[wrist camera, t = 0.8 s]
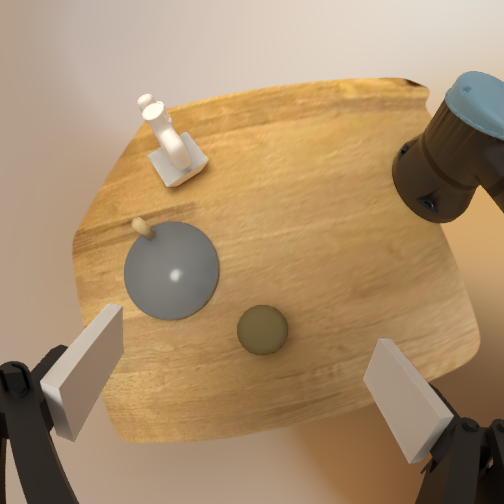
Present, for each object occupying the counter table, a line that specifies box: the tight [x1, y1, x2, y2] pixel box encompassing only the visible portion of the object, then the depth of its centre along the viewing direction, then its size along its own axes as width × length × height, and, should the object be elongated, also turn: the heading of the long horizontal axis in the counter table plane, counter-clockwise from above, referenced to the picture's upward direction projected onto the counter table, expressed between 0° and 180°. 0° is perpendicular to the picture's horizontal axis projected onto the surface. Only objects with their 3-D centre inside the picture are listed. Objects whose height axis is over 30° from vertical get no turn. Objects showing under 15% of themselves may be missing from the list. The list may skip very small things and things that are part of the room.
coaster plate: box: [124, 217, 219, 320], centre depth 40 cm, size 14×14×6 cm
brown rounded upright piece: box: [237, 305, 288, 355], centre depth 34 cm, size 6×6×11 cm
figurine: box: [138, 94, 209, 187], centre depth 40 cm, size 7×9×15 cm
